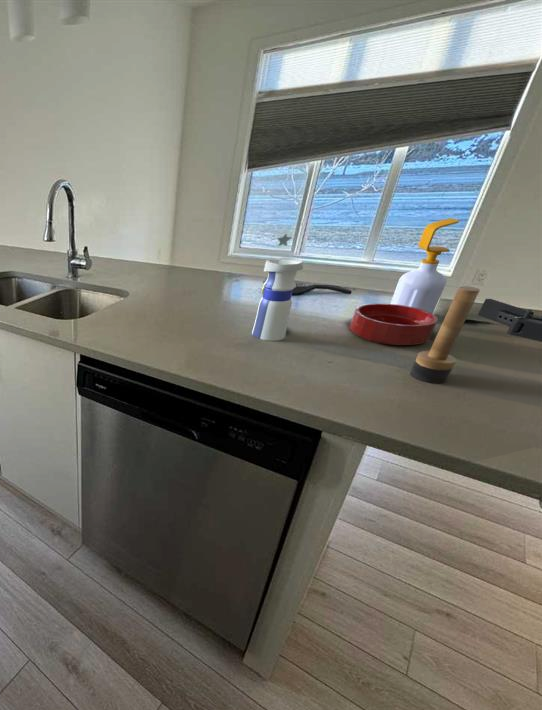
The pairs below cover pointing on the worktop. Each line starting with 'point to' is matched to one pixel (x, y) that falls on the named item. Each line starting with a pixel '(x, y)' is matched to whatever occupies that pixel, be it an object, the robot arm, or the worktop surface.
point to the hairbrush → (303, 289)
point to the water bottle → (276, 297)
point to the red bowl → (393, 324)
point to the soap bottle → (424, 275)
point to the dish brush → (445, 340)
